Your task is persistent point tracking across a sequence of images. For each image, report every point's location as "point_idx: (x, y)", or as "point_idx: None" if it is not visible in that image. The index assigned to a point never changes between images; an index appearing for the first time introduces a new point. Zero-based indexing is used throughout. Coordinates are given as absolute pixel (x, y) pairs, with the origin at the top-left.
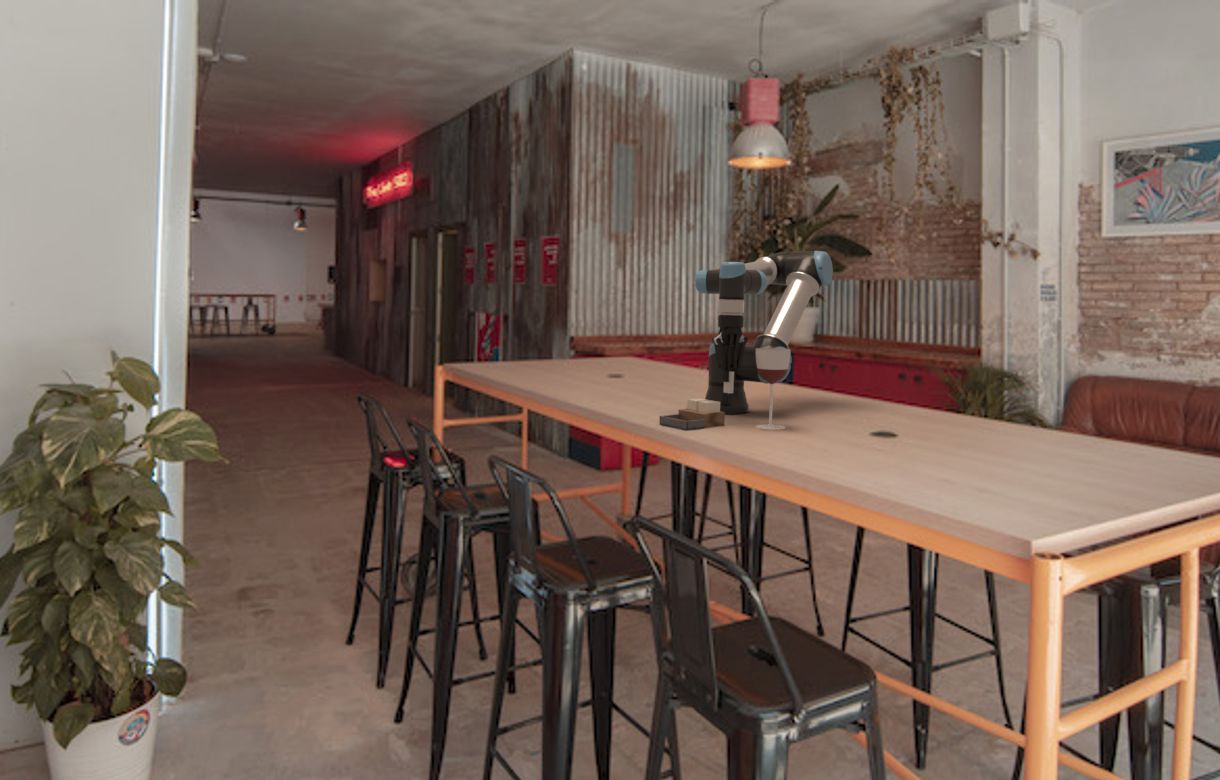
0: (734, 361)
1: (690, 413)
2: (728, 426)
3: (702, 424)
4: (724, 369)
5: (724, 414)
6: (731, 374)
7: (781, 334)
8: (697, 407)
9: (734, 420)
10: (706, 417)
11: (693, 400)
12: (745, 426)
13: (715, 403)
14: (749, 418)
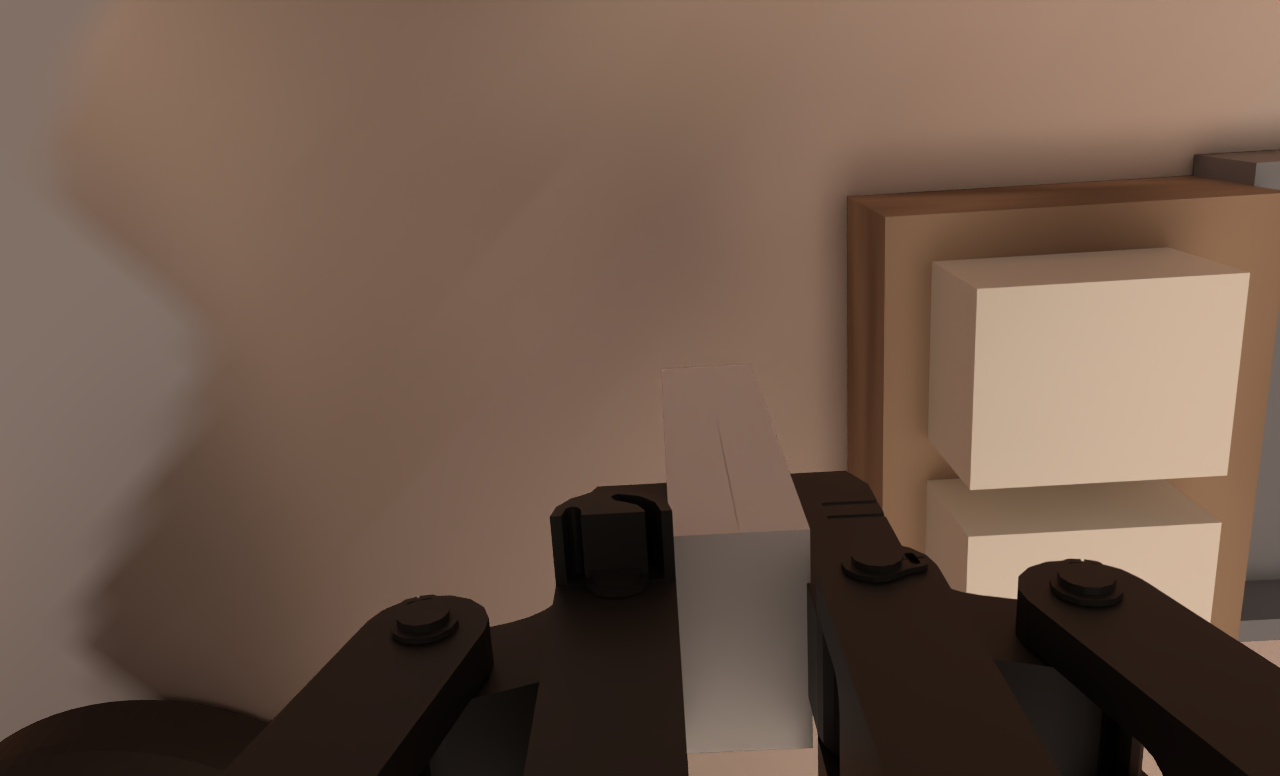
0: (652, 726)
1: (1251, 439)
2: (855, 115)
3: (1259, 154)
4: (1068, 564)
5: (880, 213)
6: (758, 502)
7: None
8: (1147, 485)
9: (496, 409)
10: (1211, 191)
11: (1201, 591)
12: (674, 4)
13: (1072, 280)
14: (242, 431)
